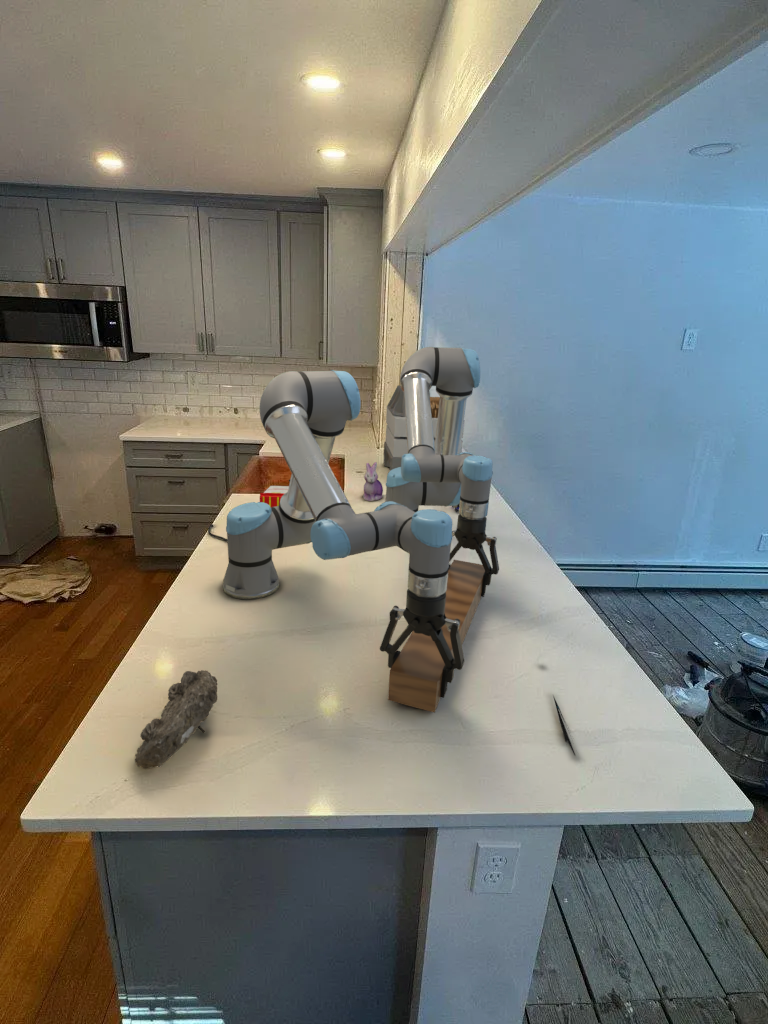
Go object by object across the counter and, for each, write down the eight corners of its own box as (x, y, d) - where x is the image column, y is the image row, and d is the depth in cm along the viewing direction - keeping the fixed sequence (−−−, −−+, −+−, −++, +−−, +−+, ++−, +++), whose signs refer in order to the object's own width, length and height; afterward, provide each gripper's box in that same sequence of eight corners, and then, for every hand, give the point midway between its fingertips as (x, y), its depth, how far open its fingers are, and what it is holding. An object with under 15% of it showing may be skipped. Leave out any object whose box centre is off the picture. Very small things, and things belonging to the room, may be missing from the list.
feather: (542, 671, 128) (548, 665, 128) (575, 760, 102) (582, 753, 101) (536, 667, 128) (542, 661, 128) (567, 755, 102) (574, 748, 101)
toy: (300, 481, 221) (289, 494, 192) (300, 514, 224) (289, 533, 194) (268, 480, 221) (253, 493, 191) (269, 514, 223) (254, 532, 194)
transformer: (382, 463, 289) (386, 382, 275) (445, 464, 293) (451, 384, 279) (390, 482, 257) (394, 392, 243) (460, 483, 261) (468, 394, 247)
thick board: (451, 581, 163) (454, 559, 161) (485, 588, 160) (487, 565, 158) (387, 700, 113) (389, 670, 110) (434, 712, 110) (437, 682, 108)
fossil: (167, 671, 114) (219, 638, 109) (200, 702, 116) (252, 671, 112) (109, 762, 94) (169, 727, 89) (151, 796, 97) (212, 765, 92)
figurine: (367, 502, 230) (368, 467, 225) (357, 495, 238) (358, 460, 233) (388, 500, 234) (389, 465, 229) (377, 492, 242) (378, 458, 237)
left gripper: (365, 587, 108) (361, 684, 116) (481, 611, 102) (468, 712, 109) (378, 571, 115) (374, 664, 123) (488, 593, 108) (476, 689, 116)
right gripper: (428, 513, 149) (422, 588, 157) (513, 527, 142) (503, 605, 150) (435, 504, 156) (429, 577, 163) (517, 517, 149) (506, 592, 157)
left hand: (418, 687), depth 116 cm, fingers closed on thick board, 10 cm apart
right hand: (464, 590), depth 157 cm, fingers closed on thick board, 10 cm apart
